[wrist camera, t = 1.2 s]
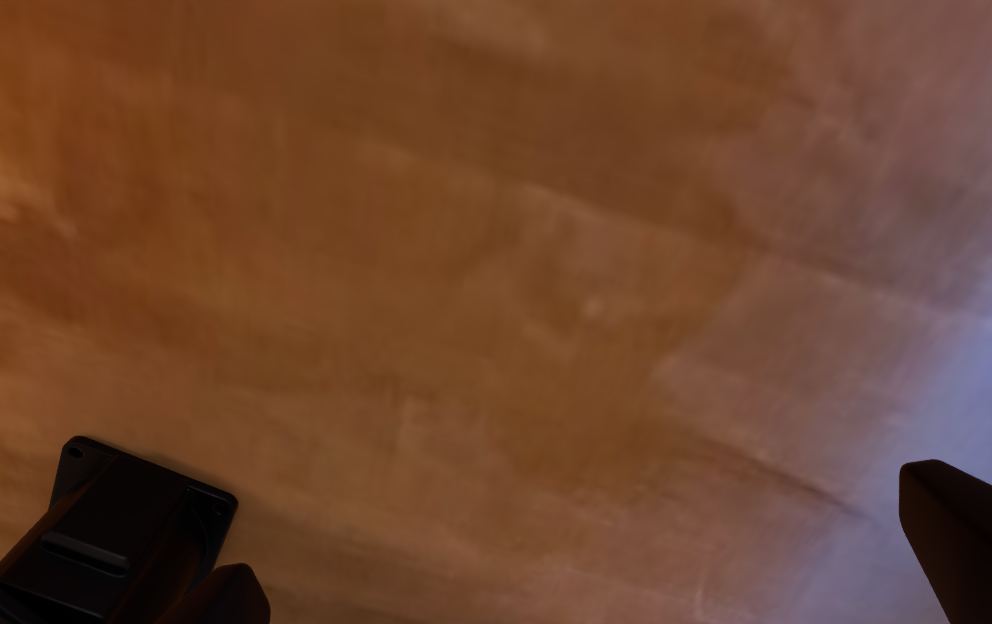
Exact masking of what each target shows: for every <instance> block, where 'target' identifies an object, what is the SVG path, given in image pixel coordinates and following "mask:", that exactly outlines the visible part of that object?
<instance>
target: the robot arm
mask: <svg viewBox="0 0 992 624" xmlns="http://www.w3.org/2000/svg"><path fill="white" fill-rule="evenodd" d="M77 448H78V449H79V450H81V451H79V450H78V449H77ZM220 504H223V505H224V506H226V507H223V506H222V505H220ZM237 507H238V501H237V499H236V498H235V497H234V496H233V495H232V494H230V493H228V492H225V491H223V490H220V489H218V488H215V487H212V486H210V485H207V484H205V483H202V482H200V481H197V480H194V479H192V478H189V477H187V476H184V475H182V474H179V473H177V472H174V471H171V470H169V469H166V468H164V467H161V466H159V465H156V464H153V463H151V462H148V461H146V460H143V459H141V458H138V457H136V456H133V455H130V454H128V453H125V452H123V451H120V450H118V449H115V448H112V447H110V446H107V445H105V444H102V443H100V442H97V441H95V440H92V439H89V438H87V437H84V436H74V437H72V438H71V439H70V440H69V441H68V442H67V443H66V444H65V445H64V446H63V448H62V452H61V457H60V461H59V465H58V470H57V474H56V479H55V483H54V487H53V492H52V496H51V501H50V505H49V509H48V512H47V513H46V514H45V515H44V516H43V517H42V518H41V519H40V520H39V521H38V522H37V523H36V524H35V525H34V526H33V527H32V528H31V529H30V530H29V531H28V533H27V534H26V535H25V536H24V537H23V538H22V539H21V540H20V541H19V542H18V543H17V544H16V545H15V546H14V547H13V548H12V549H11V550H10V551H9V552H8V554H7V555H6V556H5V557H4V558H3V559H2V560H1V561H0V624H269V623H270V613H271V612H270V605H269V602H268V599H267V597H266V595H265V593H264V591H263V589H262V588H261V586H260V584H259V582H258V580H257V578H256V576H255V574H254V572H253V570H252V569H251V567H250V566H249V565H247V564H244V563H238V564H232V565H225V566H221V567H218V568H217V569H215V570H214V571H213V568H214V565H215V563H216V560H217V558H218V555H219V553H220V550H221V548H222V545H223V543H224V540H225V538H226V535H227V533H228V530H229V528H230V525H231V523H232V520H233V518H234V515H235V512H236V510H237ZM899 517H900V522H901V525H902V528H903V531H904V533H905V535H906V537H907V539H908V541H909V543H910V545H911V547H912V549H913V551H914V553H915V555H916V557H917V559H918V561H919V563H920V565H921V567H922V569H923V571H924V573H925V575H926V577H927V579H928V580H929V582H930V584H931V586H932V588H933V590H934V592H935V594H936V596H937V598H938V600H939V602H940V604H941V606H942V608H943V610H944V612H945V614H946V616H947V618H948V620H949V622H950V624H992V485H990V484H988V483H986V482H984V481H982V480H980V479H978V478H976V477H974V476H972V475H970V474H968V473H965V472H963V471H961V470H959V469H957V468H955V467H953V466H951V465H949V464H947V463H945V462H943V461H940V460H936V459H930V460H924V461H917V462H910V463H906V464H904V465H903V466H902V467H901V469H900V474H899ZM212 571H213V572H212Z"/></svg>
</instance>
